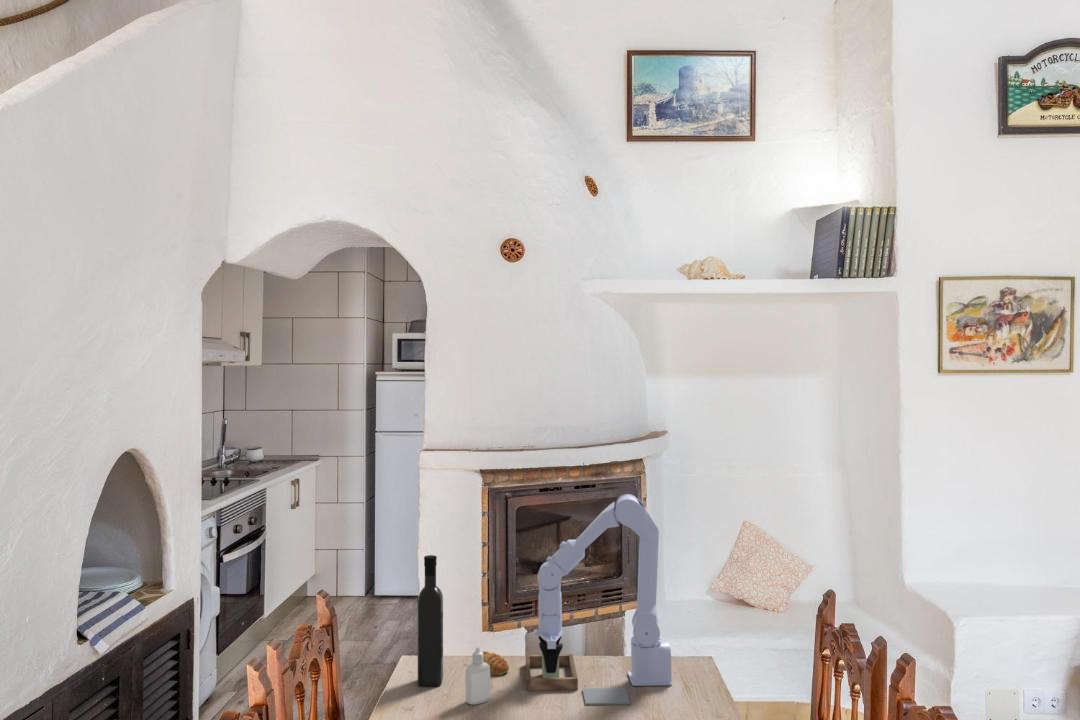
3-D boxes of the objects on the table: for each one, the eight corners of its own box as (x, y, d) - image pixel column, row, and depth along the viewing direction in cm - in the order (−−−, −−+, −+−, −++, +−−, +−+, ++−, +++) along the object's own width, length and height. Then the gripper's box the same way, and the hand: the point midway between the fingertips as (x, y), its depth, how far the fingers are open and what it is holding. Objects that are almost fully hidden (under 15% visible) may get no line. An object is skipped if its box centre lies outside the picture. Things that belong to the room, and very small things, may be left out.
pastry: (515, 671, 182) (515, 656, 182) (496, 680, 177) (495, 664, 177) (490, 662, 189) (489, 647, 189) (470, 670, 184) (470, 654, 184)
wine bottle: (443, 677, 178) (443, 553, 179) (441, 687, 173) (440, 558, 174) (420, 678, 178) (420, 553, 179) (416, 687, 172) (416, 559, 174)
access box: (572, 664, 186) (572, 654, 186) (577, 689, 170) (577, 678, 171) (525, 664, 186) (525, 655, 186) (526, 690, 170) (526, 679, 170)
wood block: (558, 673, 180) (558, 648, 181) (559, 679, 176) (559, 654, 177) (542, 673, 180) (542, 649, 180) (542, 680, 176) (542, 655, 176)
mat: (625, 689, 170) (625, 687, 170) (630, 704, 162) (630, 702, 162) (582, 690, 170) (582, 688, 170) (585, 705, 162) (585, 703, 162)
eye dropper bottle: (491, 704, 163) (490, 649, 163) (465, 705, 162) (465, 651, 163) (489, 696, 167) (489, 643, 168) (465, 697, 166) (465, 644, 167)
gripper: (533, 604, 186) (533, 658, 185) (534, 622, 171) (534, 680, 171) (560, 603, 186) (561, 657, 186) (564, 621, 172) (565, 680, 171)
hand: (550, 668), depth 178 cm, fingers closed on wood block, 4 cm apart
